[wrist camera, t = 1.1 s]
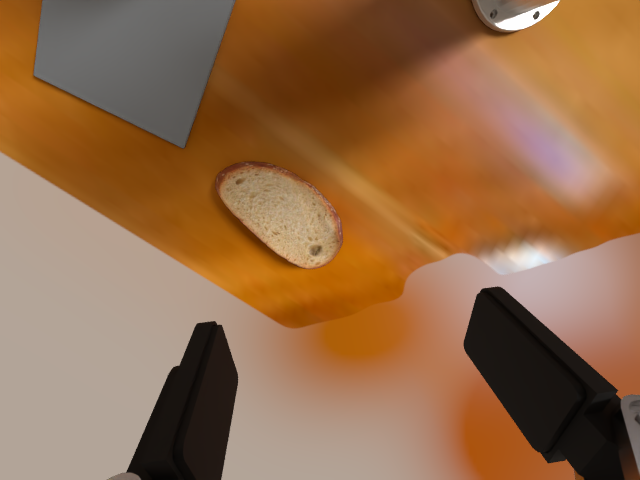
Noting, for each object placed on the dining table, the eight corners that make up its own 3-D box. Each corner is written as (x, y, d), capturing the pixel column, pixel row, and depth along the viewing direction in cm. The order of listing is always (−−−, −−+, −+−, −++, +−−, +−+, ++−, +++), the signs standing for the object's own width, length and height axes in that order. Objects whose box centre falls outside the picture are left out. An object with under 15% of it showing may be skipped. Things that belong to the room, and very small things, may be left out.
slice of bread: (210, 164, 37) (203, 170, 33) (339, 153, 38) (344, 158, 35) (236, 272, 45) (233, 286, 42) (342, 260, 47) (346, 272, 43)
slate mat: (67, -160, 23) (62, -166, 22) (245, -28, 28) (244, -30, 28) (37, 75, 30) (33, 75, 29) (184, 147, 35) (183, 148, 34)
